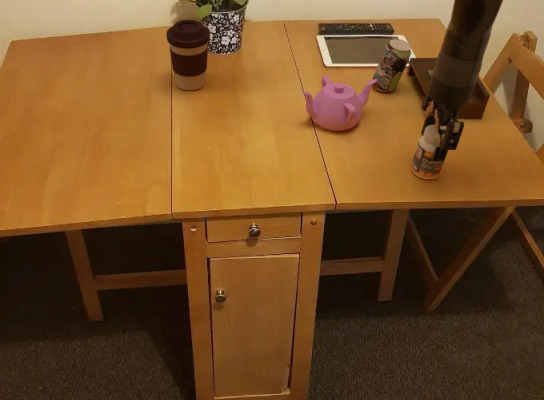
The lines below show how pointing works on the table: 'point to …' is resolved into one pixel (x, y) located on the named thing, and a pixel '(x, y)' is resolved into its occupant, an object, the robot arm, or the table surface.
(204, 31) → the coffee cup
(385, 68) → the beverage can
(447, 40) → the robot arm
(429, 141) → the pill bottle
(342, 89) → the teapot
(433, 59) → the shelf
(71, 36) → the table surface
